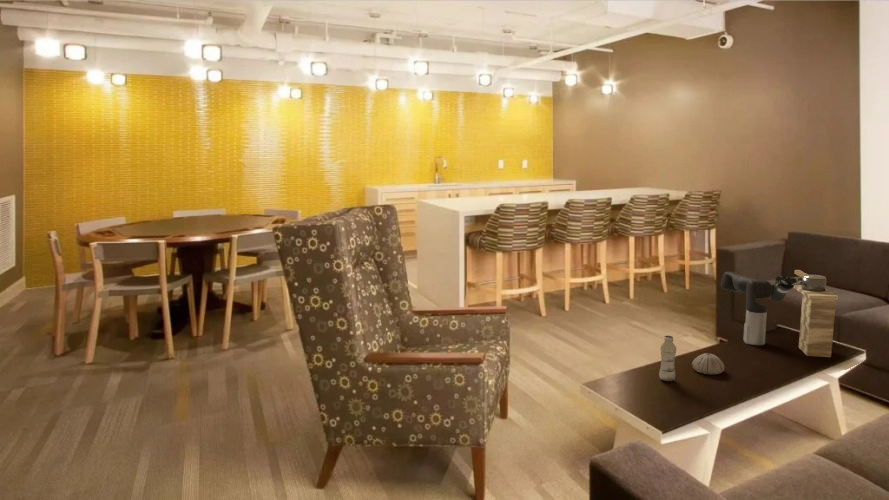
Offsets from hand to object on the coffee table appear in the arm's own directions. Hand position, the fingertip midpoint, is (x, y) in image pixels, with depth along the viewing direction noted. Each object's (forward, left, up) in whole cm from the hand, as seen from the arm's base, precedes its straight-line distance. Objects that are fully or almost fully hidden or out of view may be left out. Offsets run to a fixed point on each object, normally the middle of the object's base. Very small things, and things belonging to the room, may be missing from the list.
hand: (794, 276), depth 295 cm
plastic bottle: (-73, -85, -31) cm, 116 cm away
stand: (0, -30, -31) cm, 43 cm away
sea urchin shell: (-54, -70, -31) cm, 94 cm away
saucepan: (0, -18, -1) cm, 18 cm away
